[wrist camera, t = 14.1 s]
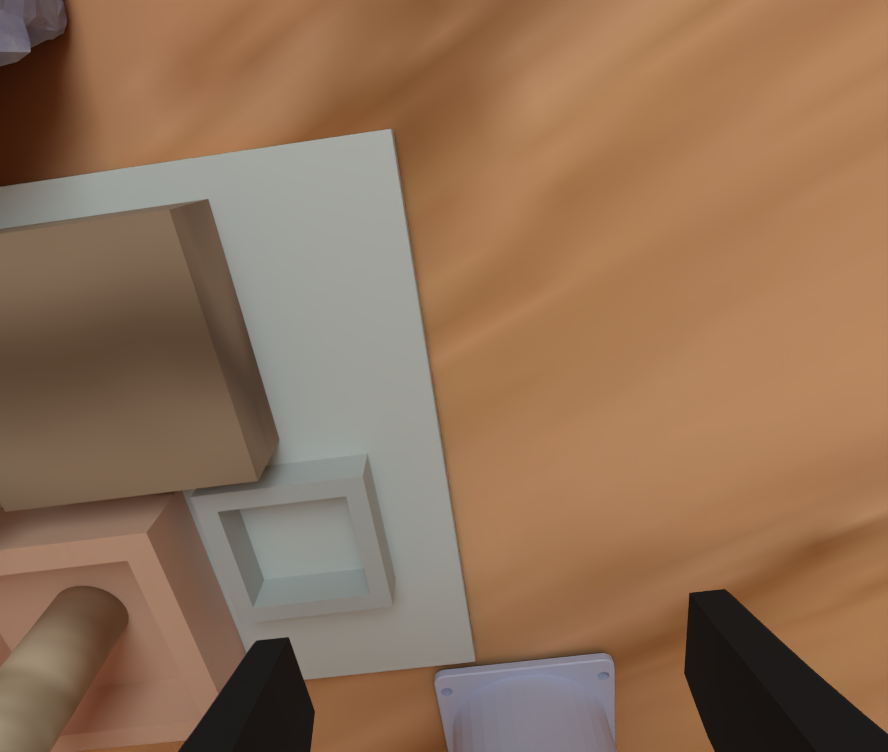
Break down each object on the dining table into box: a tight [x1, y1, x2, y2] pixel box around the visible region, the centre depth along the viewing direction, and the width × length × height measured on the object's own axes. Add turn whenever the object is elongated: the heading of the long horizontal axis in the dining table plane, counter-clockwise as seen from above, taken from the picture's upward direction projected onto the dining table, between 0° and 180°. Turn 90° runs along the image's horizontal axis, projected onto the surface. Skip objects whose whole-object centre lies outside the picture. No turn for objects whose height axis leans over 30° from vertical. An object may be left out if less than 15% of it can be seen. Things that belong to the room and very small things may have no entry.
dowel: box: [0, 586, 129, 752], centre depth 18 cm, size 3×3×7 cm
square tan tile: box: [0, 199, 279, 512], centre depth 16 cm, size 8×8×2 cm
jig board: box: [0, 129, 476, 680], centre depth 18 cm, size 21×20×5 cm
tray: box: [0, 490, 246, 752], centre depth 21 cm, size 10×10×2 cm
